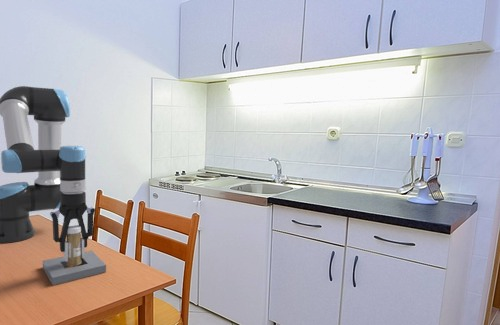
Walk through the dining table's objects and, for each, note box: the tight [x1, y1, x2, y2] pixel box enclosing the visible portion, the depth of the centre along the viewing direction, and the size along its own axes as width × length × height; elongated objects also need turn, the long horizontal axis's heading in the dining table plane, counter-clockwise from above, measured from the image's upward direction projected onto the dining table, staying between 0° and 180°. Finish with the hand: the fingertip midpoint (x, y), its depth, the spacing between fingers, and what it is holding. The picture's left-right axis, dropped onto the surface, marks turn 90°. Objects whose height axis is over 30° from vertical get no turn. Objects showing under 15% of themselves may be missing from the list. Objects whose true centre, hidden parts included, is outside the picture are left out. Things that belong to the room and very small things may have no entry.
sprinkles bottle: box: [66, 224, 82, 268], centre depth 111 cm, size 5×5×14 cm
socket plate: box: [42, 250, 107, 286], centre depth 112 cm, size 16×16×2 cm
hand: (74, 258), depth 112 cm, fingers closed on sprinkles bottle, 4 cm apart
